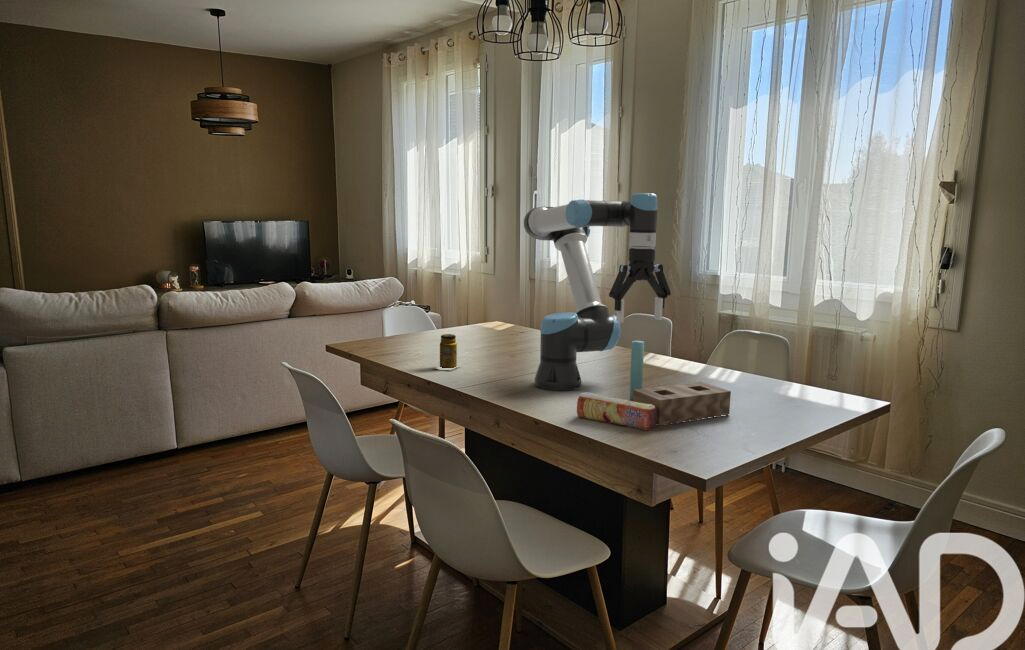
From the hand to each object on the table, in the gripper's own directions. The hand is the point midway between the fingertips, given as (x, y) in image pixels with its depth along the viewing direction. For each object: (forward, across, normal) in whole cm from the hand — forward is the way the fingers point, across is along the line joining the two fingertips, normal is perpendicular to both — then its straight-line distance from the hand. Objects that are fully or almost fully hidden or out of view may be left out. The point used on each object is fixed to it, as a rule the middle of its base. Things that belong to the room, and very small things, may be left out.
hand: (639, 320), depth 200 cm
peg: (+24, 0, 0) cm, 24 cm away
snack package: (+25, -17, -15) cm, 34 cm away
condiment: (+24, -36, +64) cm, 77 cm away
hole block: (+24, +3, -17) cm, 30 cm away
